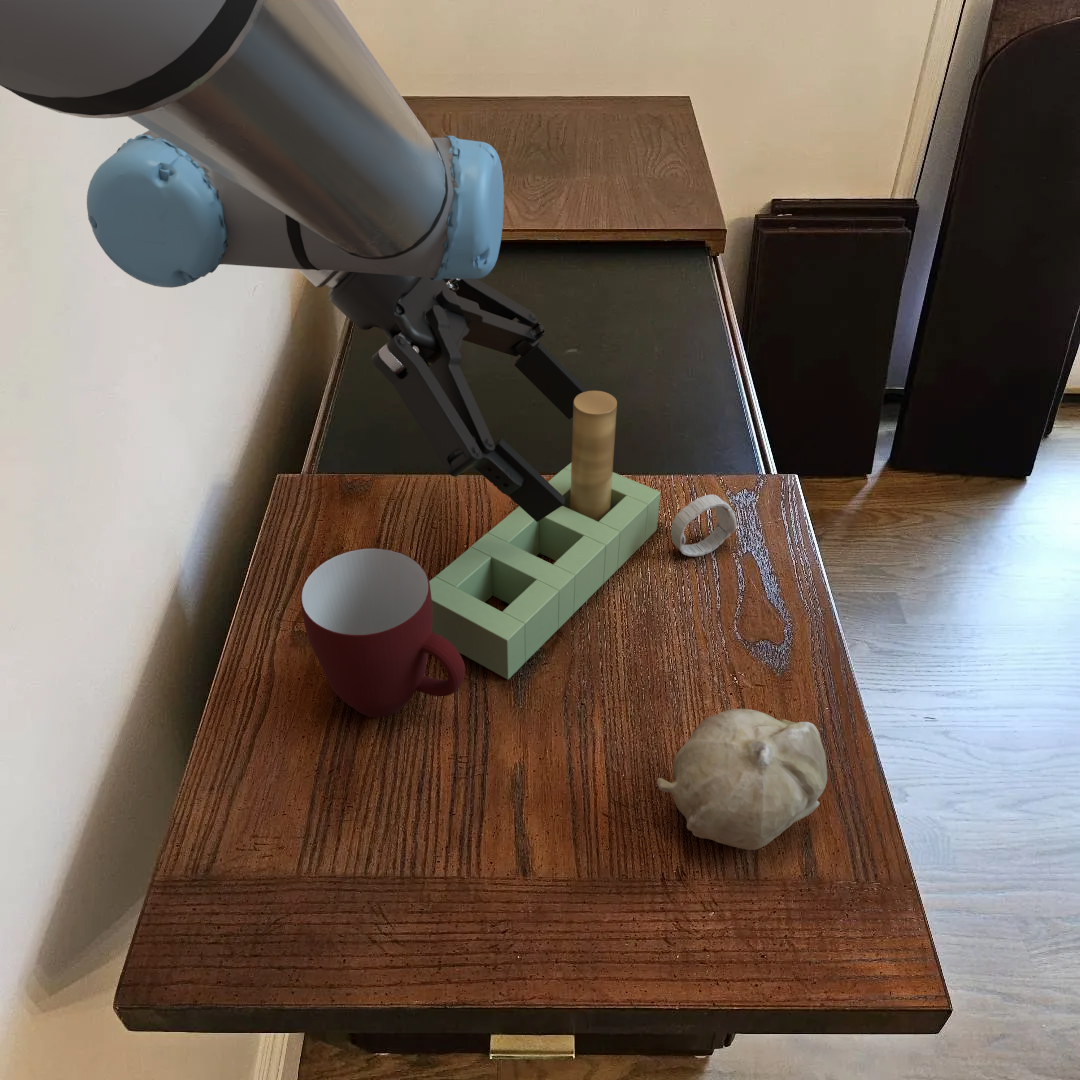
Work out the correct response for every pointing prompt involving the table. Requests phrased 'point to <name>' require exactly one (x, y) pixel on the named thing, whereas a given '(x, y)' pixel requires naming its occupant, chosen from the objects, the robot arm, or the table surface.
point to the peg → (592, 453)
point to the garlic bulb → (747, 777)
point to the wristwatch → (718, 536)
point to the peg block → (537, 573)
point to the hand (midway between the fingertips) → (567, 456)
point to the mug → (376, 630)
